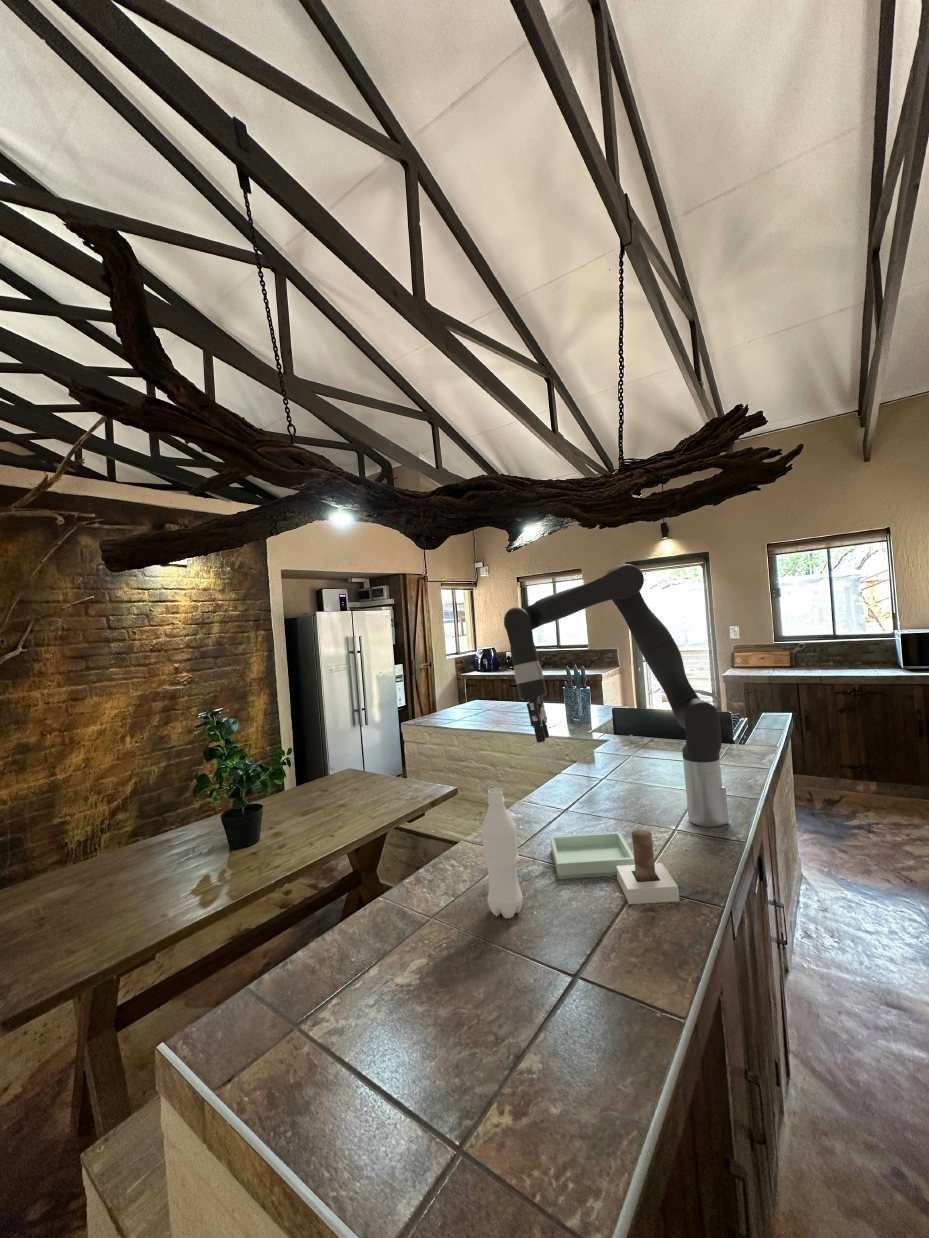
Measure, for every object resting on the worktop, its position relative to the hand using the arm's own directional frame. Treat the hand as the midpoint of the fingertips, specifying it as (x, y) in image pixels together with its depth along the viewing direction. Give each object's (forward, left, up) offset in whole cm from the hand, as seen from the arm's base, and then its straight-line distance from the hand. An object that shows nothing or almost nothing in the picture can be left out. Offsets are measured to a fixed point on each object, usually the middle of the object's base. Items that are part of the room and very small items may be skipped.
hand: (543, 739), depth 136 cm
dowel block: (-17, +27, -27) cm, 42 cm away
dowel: (-17, +27, -27) cm, 41 cm away
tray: (-8, +13, -27) cm, 31 cm away
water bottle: (+13, +32, -27) cm, 44 cm away
